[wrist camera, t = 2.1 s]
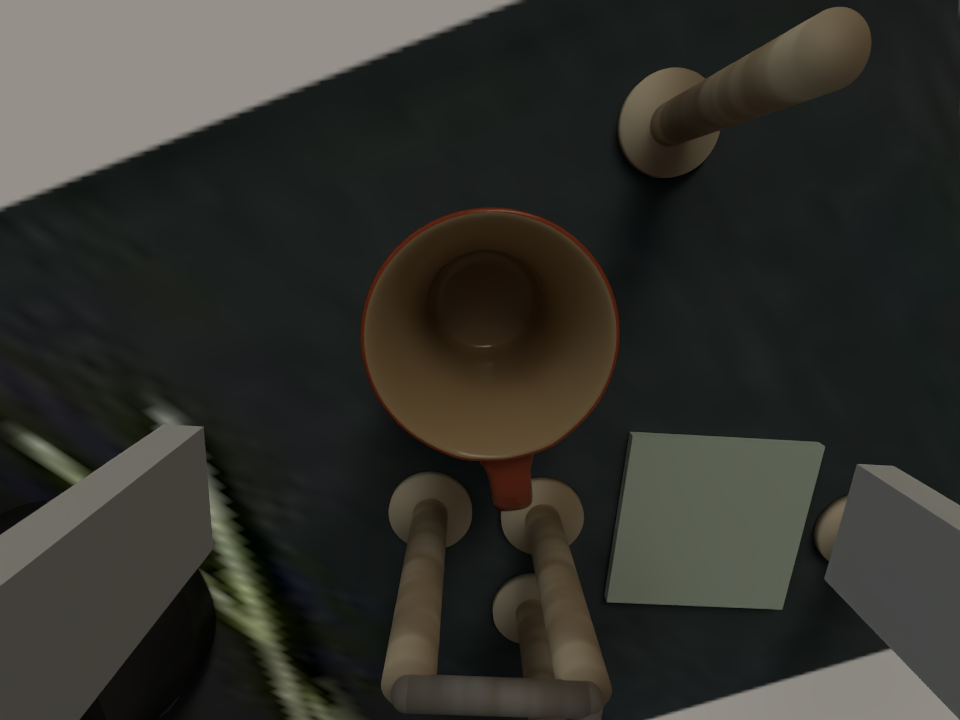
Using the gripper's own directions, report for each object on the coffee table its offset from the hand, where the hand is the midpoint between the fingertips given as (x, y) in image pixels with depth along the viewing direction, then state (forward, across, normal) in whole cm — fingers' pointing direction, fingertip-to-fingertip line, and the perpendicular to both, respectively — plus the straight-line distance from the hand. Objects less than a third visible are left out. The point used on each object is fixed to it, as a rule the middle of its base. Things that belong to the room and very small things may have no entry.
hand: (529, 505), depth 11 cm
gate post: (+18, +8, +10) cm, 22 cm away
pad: (+18, +14, -11) cm, 25 cm away
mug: (+18, 0, 0) cm, 18 cm away
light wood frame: (+18, 0, -14) cm, 23 cm away
